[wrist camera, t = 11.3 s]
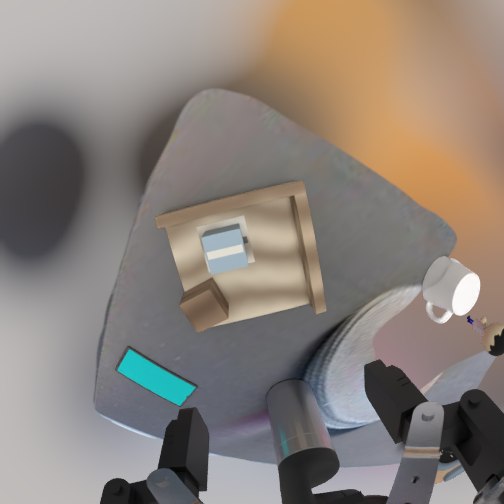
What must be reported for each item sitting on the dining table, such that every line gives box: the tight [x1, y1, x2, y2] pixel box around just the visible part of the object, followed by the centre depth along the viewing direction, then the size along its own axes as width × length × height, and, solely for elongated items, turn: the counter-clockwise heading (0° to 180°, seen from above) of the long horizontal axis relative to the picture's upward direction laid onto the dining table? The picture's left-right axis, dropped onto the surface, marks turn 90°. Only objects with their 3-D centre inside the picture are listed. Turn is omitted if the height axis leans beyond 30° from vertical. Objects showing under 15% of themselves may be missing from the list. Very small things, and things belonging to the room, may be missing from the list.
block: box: [201, 223, 249, 275], centre depth 38 cm, size 5×5×5 cm
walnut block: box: [179, 277, 229, 333], centre depth 40 cm, size 5×5×5 cm
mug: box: [422, 256, 480, 323], centre depth 42 cm, size 12×9×8 cm
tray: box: [155, 181, 326, 327], centre depth 40 cm, size 19×20×5 cm
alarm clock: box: [434, 446, 465, 484], centre depth 48 cm, size 21×10×22 cm, turn 90°
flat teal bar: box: [115, 346, 197, 407], centre depth 47 cm, size 7×1×15 cm
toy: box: [467, 316, 504, 356], centre depth 42 cm, size 9×7×15 cm
